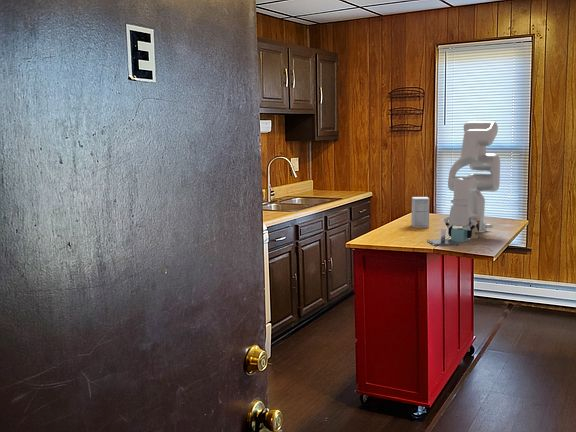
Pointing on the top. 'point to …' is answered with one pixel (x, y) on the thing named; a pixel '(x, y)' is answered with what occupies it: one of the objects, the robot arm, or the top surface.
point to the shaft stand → (443, 240)
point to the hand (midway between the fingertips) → (459, 237)
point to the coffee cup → (476, 230)
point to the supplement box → (420, 212)
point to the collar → (459, 234)
